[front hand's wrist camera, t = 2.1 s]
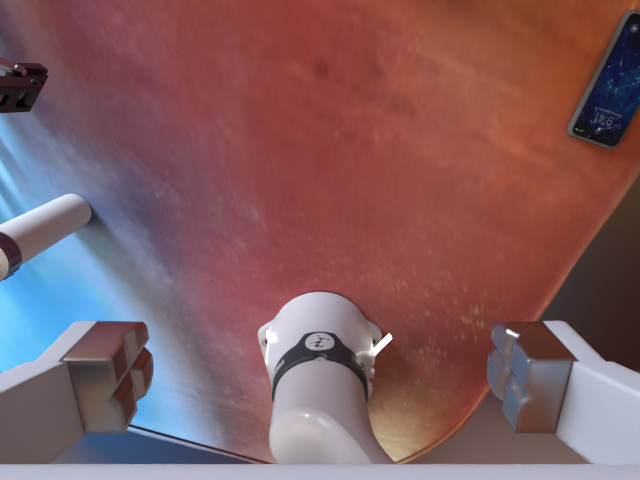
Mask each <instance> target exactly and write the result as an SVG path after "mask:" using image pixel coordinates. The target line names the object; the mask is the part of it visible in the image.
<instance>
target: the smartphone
mask: <svg viewBox="0 0 640 480" xmlns="http://www.w3.org/2000/svg"><path fill="white" fill-rule="evenodd" d="M639 107H640V11H637V10H631V11H628V12H627V13H626V14H624V16H623V17H622V19H621V21H620V23H619V25H618V27H617V29H616V31H615V33H614V35H613V37H612V39H611V41H610V43H609V45H608V47H607V49H606V51H605V53H604V55H603V57H602V59H601V61H600V63H599V65H598V67H597V69H596V71H595V73H594V75H593V77H592V79H591V81H590V83H589V85H588V87H587V89H586V91H585V93H584V94H583V96H582V98H581V100H580V102H579V104H578V106H577V109H576V111H575V113H574V115H573V117H572V119H571V121H570V123H569V125H568V128H567V132H568V134H569V135H570V136H571V137H574V138H576V139H579V140H582V141H585V142H588V143H591V144H594V145H597V146H600V147H603V148H606V149H613V148H616V147H617V146H618V145H619V144H620V142H621V140H622V138H623V136H624V134H625V133H626V131H627V129H628V127H629V125H630V124H631V122H632V120H633V118H634V116H635V114H636V113H637V111H638V109H639Z"/></svg>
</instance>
